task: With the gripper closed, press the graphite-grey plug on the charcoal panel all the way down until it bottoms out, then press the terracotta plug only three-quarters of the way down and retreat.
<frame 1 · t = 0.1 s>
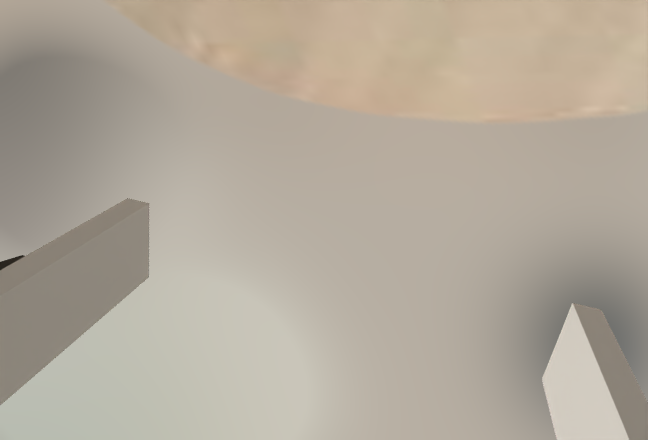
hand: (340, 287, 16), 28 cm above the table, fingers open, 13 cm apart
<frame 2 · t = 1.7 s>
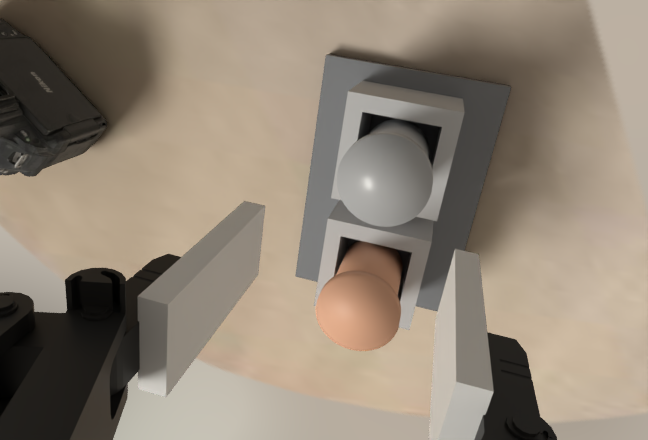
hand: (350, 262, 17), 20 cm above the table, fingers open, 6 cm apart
camera: (42, 95, 41), on the table
plug grey: (390, 165, 28), point 8 cm above the table, slide at 0.0 cm
plug terracotta: (365, 287, 32), point 8 cm above the table, slide at 0.0 cm
panel: (391, 189, 37), on the table
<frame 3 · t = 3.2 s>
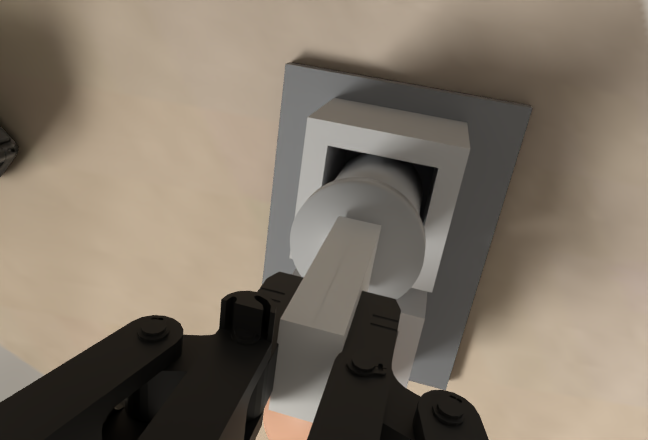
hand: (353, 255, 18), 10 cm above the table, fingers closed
plug grey: (368, 216, 21), point 7 cm above the table, slide at 0.7 cm, touching gripper
plug terracotta: (335, 379, 23), point 8 cm above the table, slide at 0.0 cm
panel: (374, 235, 29), on the table
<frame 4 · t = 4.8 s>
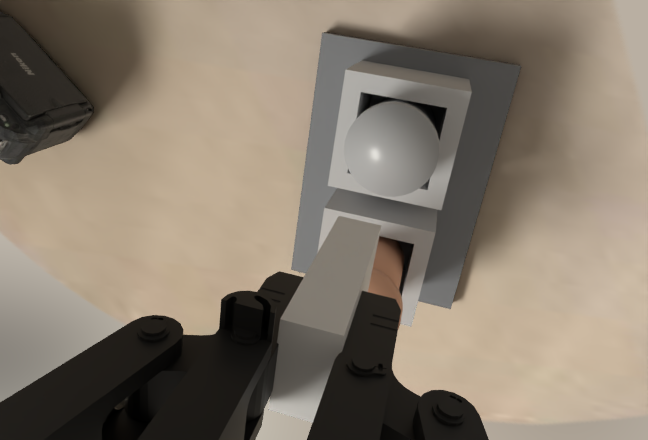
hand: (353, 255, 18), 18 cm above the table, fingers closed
camera: (26, 78, 39), on the table
plug grey: (396, 137, 29), point 5 cm above the table, slide at 2.7 cm
plug terracotta: (364, 282, 29), point 8 cm above the table, slide at 0.0 cm
panel: (392, 177, 35), on the table
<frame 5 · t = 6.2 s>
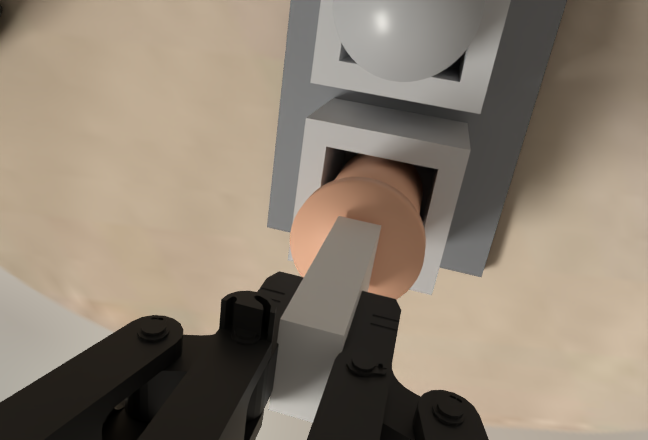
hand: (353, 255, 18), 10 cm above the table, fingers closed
plug grey: (413, 5, 19), point 5 cm above the table, slide at 2.7 cm
plug terracotta: (368, 216, 21), point 7 cm above the table, slide at 0.9 cm, touching gripper
panel: (403, 93, 25), on the table
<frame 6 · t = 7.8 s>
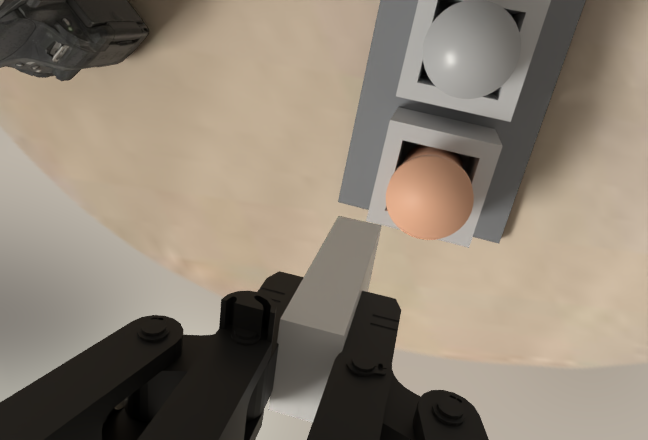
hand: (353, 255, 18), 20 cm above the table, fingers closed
plug grey: (468, 48, 29), point 5 cm above the table, slide at 2.7 cm
plug terracotta: (430, 183, 31), point 6 cm above the table, slide at 2.0 cm
panel: (448, 105, 35), on the table
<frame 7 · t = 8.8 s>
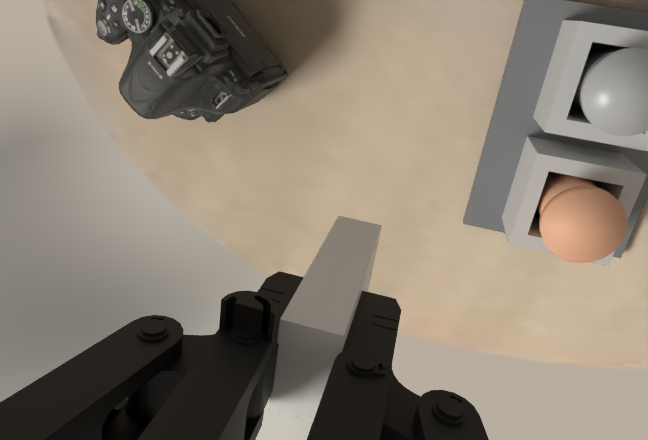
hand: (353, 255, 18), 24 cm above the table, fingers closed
camera: (216, 44, 41), on the table
plug grey: (614, 86, 31), point 5 cm above the table, slide at 2.7 cm
plug terracotta: (572, 209, 34), point 6 cm above the table, slide at 2.0 cm
panel: (574, 133, 37), on the table
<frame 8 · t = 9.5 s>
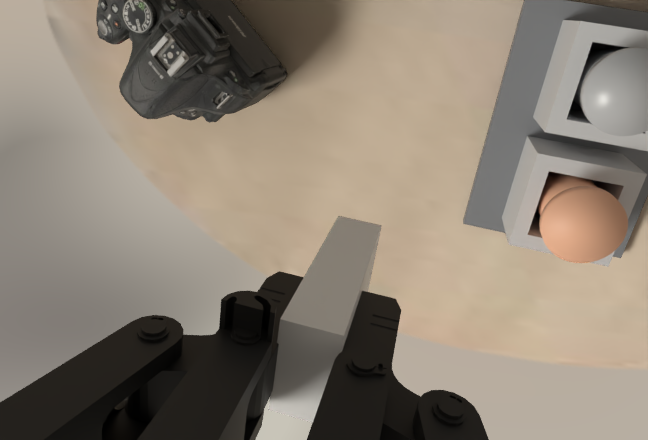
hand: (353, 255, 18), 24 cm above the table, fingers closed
camera: (216, 44, 41), on the table
plug grey: (614, 86, 31), point 5 cm above the table, slide at 2.7 cm
plug terracotta: (572, 209, 34), point 6 cm above the table, slide at 2.0 cm
panel: (574, 132, 37), on the table
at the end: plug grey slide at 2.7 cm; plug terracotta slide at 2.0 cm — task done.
